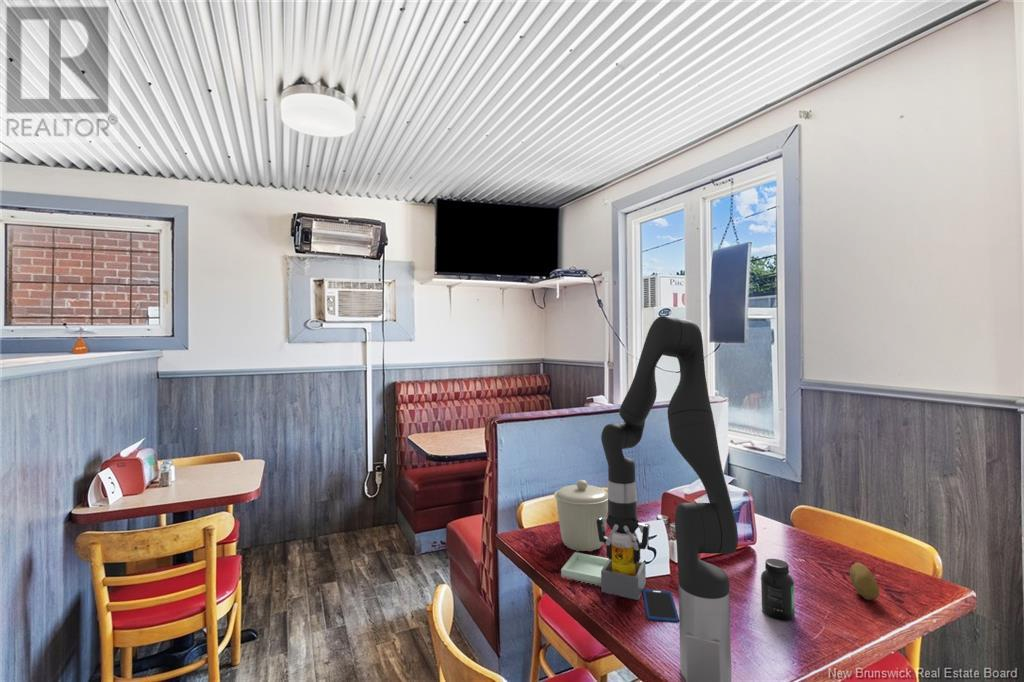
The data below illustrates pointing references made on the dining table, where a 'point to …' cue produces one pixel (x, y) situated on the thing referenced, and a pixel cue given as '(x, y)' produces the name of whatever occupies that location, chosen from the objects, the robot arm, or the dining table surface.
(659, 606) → the cell phone
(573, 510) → the canister
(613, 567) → the beer can
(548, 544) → the dining table surface
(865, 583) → the potato
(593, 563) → the tray
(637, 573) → the holder
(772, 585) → the supplement bottle
